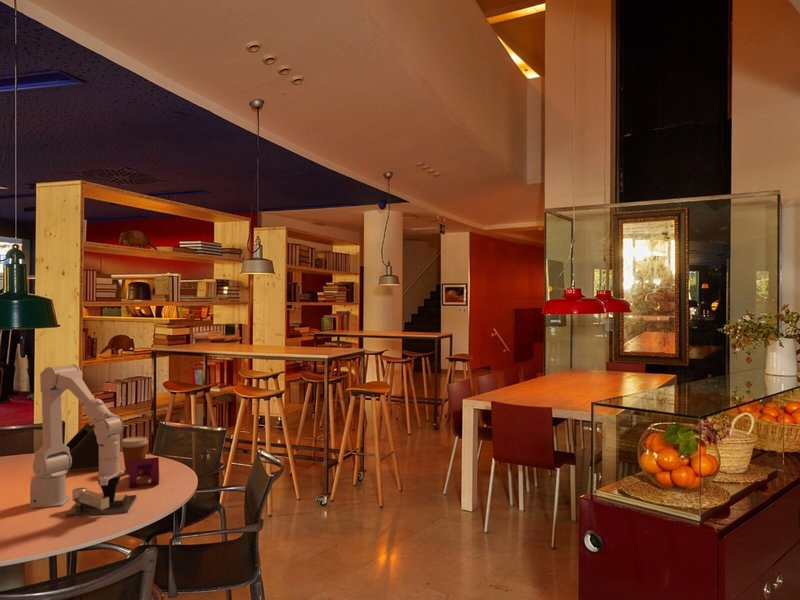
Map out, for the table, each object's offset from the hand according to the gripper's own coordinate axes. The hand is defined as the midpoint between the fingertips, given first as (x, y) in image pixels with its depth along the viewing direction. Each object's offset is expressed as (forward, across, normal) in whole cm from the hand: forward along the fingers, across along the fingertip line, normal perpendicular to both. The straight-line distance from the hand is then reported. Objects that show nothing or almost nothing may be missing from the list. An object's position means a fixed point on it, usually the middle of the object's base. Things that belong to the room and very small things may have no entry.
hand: (109, 502), depth 184 cm
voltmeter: (+4, +58, +22) cm, 62 cm away
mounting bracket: (+4, +34, -4) cm, 34 cm away
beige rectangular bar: (0, +2, +6) cm, 6 cm away
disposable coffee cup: (+4, +48, +2) cm, 48 cm away
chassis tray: (+3, +7, +4) cm, 8 cm away
